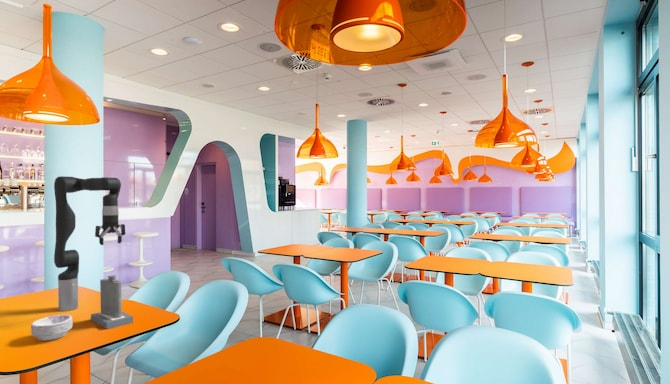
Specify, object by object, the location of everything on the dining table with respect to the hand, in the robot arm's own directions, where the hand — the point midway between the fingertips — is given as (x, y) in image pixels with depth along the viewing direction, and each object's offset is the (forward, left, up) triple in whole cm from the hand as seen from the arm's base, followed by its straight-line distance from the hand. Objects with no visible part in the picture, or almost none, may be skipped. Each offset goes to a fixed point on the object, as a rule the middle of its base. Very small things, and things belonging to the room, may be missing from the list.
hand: (110, 244), depth 209 cm
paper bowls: (+16, -30, -38) cm, 51 cm away
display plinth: (+14, -5, -38) cm, 41 cm away
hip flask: (+14, -5, -35) cm, 38 cm away
